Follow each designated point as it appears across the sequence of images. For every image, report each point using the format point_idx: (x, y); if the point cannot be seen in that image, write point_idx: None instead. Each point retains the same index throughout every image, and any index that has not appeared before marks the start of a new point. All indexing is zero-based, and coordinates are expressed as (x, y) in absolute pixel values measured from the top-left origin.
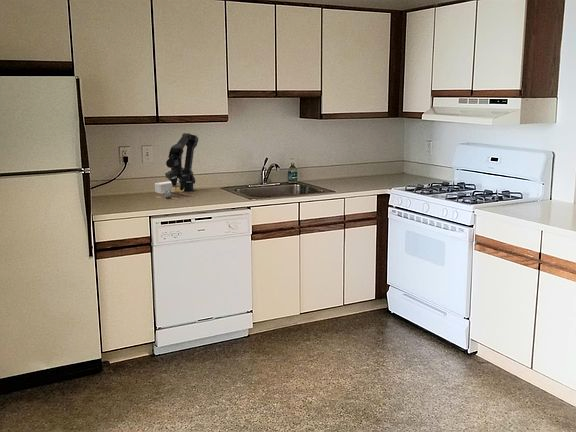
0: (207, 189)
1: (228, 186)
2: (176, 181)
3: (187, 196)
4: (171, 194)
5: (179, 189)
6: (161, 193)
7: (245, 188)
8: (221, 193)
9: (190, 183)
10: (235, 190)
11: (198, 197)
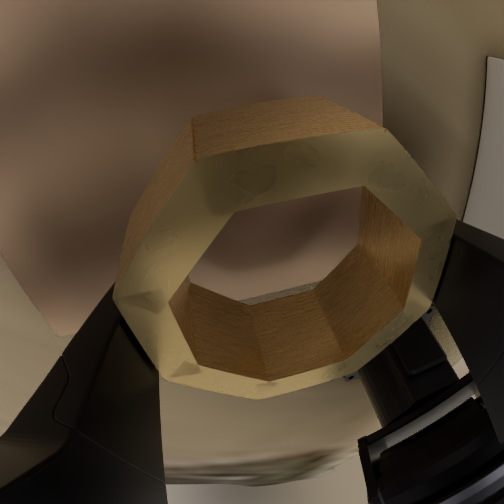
0: (352, 420)
1: (332, 459)
2: (479, 374)
3: (39, 258)
4: (365, 112)
5: (123, 246)
6: (500, 66)
7: (243, 484)
8: (174, 450)
9: (379, 430)
10: (223, 474)
11: (56, 342)
